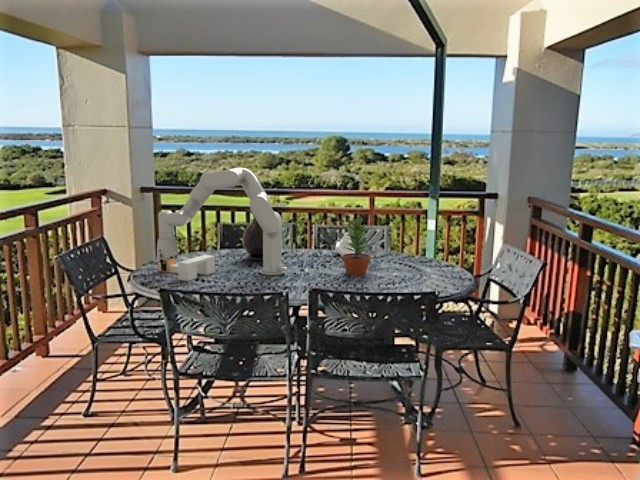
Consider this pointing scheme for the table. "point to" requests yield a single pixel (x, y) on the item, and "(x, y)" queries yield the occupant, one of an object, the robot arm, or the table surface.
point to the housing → (189, 269)
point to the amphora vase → (253, 240)
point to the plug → (169, 265)
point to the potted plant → (356, 250)
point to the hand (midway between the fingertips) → (168, 269)
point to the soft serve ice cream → (344, 245)
